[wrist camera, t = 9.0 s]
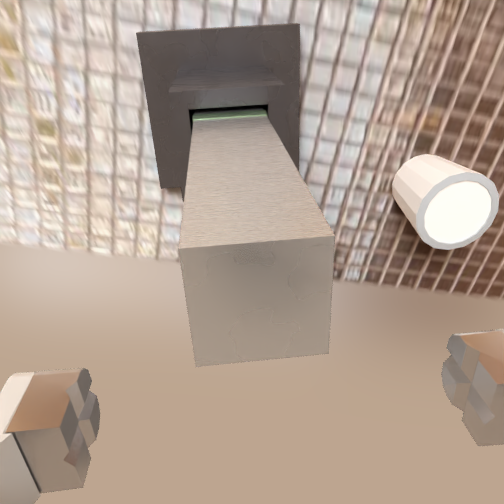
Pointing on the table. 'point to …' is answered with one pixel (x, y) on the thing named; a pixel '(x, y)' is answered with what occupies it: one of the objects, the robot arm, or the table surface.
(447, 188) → the white tapered cup
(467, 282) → the table surface
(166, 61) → the sleeve stand
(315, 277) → the steel post
